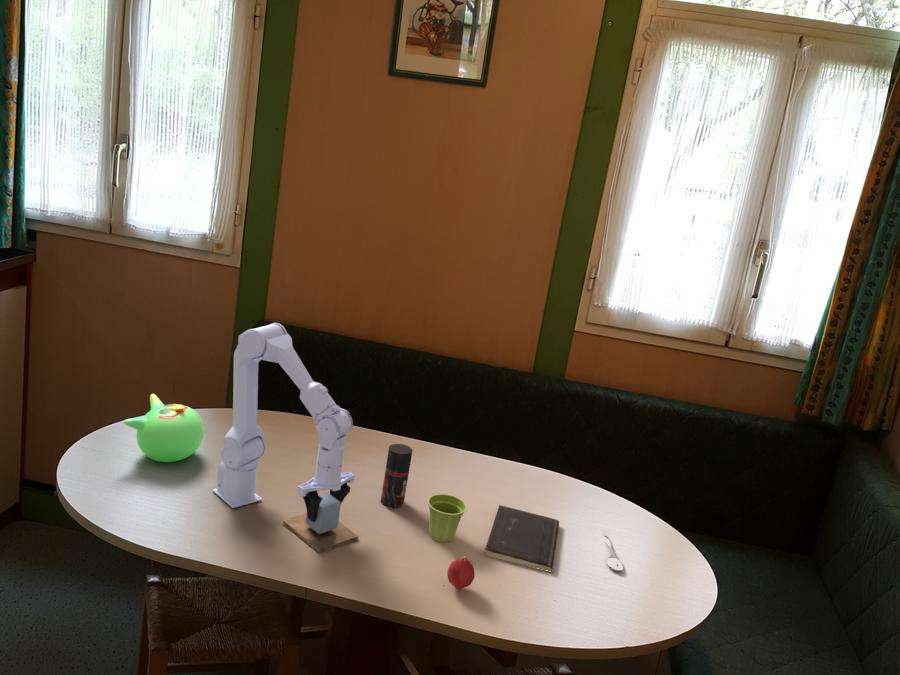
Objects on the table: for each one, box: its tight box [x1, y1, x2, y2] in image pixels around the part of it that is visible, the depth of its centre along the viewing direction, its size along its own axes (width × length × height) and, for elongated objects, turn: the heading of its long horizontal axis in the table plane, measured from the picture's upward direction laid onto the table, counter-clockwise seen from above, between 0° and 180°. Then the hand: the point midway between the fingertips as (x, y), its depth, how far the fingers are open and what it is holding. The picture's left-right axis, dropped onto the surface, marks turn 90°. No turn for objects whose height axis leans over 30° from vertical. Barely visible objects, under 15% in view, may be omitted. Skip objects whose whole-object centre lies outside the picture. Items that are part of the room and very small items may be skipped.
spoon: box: [607, 546, 623, 572], centre depth 186 cm, size 4×21×2 cm, turn 177°
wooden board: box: [282, 512, 359, 554], centre depth 171 cm, size 14×11×6 cm
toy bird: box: [123, 393, 205, 463], centre depth 192 cm, size 18×17×15 cm
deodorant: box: [380, 443, 413, 509], centre depth 189 cm, size 6×6×15 cm
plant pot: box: [427, 493, 468, 543], centre depth 178 cm, size 9×9×9 cm
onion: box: [446, 556, 476, 591], centre depth 159 cm, size 6×6×8 cm
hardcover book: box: [484, 504, 560, 573], centre depth 184 cm, size 16×23×2 cm
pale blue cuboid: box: [306, 492, 342, 534], centre depth 171 cm, size 5×5×7 cm
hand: (322, 516), depth 171 cm, fingers open, 5 cm apart
